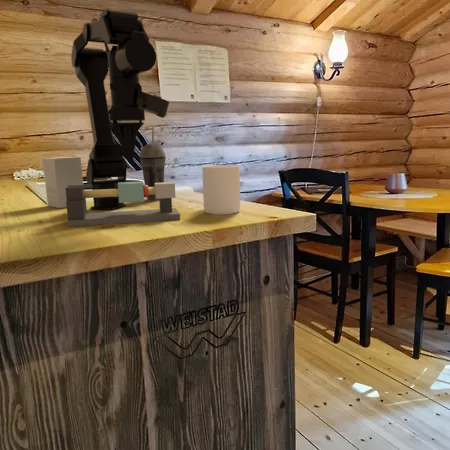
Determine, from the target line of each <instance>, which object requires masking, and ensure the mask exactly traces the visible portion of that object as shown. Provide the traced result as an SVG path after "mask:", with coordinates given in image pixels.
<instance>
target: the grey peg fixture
mask: <svg viewBox="0 0 450 450" xmlns="http://www.w3.org/2000/svg"><path fill="white" fill-rule="evenodd" d="M65 189H66V199H67V201H66V206H67V207H66V213H67V214H66V215H67V226H68V228H71V227H72V228H73V227H86V225H90V226H99V225H98V224H106V225H117V224H118V225H119V224H120V223H121V224H132V223H135V224H137V223H146V222H147V223H148V222H149V223H150V222H163V221H178V220H179V221H180V220H181V214H180V212H179V211H178V209H177V208H176V207H174V208H173V204H172V202H173V201H172V199H175V198H176V183H175V182H174V181H169V182H165V181H164V183H155V187H148V185H145V184H143V192H144V198H147V197H149V195H154V194H155V197H156V199H159V200H158V202H159V208H156V209H140V210H137V209H136V210H122V211H108V212H105V211H104V212H89V213H88V209H87V199H93V198H98V197H117V196H119V193H118V189H102V190H93V189H88V190H87V189H85V184H83V185H69V186H68V187H66V188H65Z"/></svg>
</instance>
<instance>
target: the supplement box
mask: <svg viewBox="0 0 450 450" xmlns="http://www.w3.org/2000/svg"><path fill="white" fill-rule="evenodd" d="M42 165H43V167H42V168H43V174H44V176H43V177H44V182H45V192H46V193H45V194H46V202H47V207H53V208H57V209H62V208H63V209H64V208H67V206H66V201H67V199H66V189H65V188H66V187H68V186H69V185H84V179H83V169H82V157H80V156H79V157H77V156H64V157H63V156H62V157H47V158H42Z"/></svg>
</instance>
